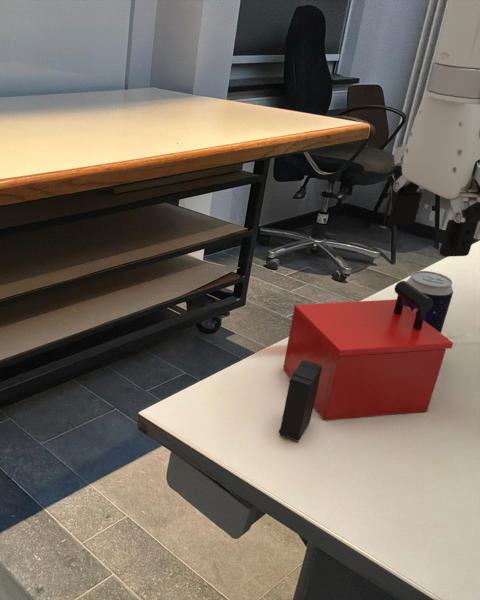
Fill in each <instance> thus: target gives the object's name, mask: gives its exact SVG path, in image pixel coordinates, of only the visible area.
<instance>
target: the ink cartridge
mask: <svg viewBox="0 0 480 600" xmlns="http://www.w3.org/2000/svg"><path fill="white" fill-rule="evenodd" d="M321 370H322V366H321V365H318V364H314V363H311V362H308V361H305V360H303V361H301V363H300V364H299V366H298V367H297V369H296V370H295V371H294V373H293V375H292V377H291V378H290V377H289V382H288V383H289V384H288V388H287V394H286V397H285V404H284V408H283V414H282V420H281V424H280V428H279V430H278V434H279V435H280V436H283V437H285V438H288V439H291V440H293V441H296V442H300V441H301V439H302V438H303V435H304V433H305V431H306V430H307V428H308V426H309V424H310V423H311V421H312V420H311V419H312V415H313V410H314V402H315V397H316V393H317V388H318V384H319V379H320V375H321Z"/></svg>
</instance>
